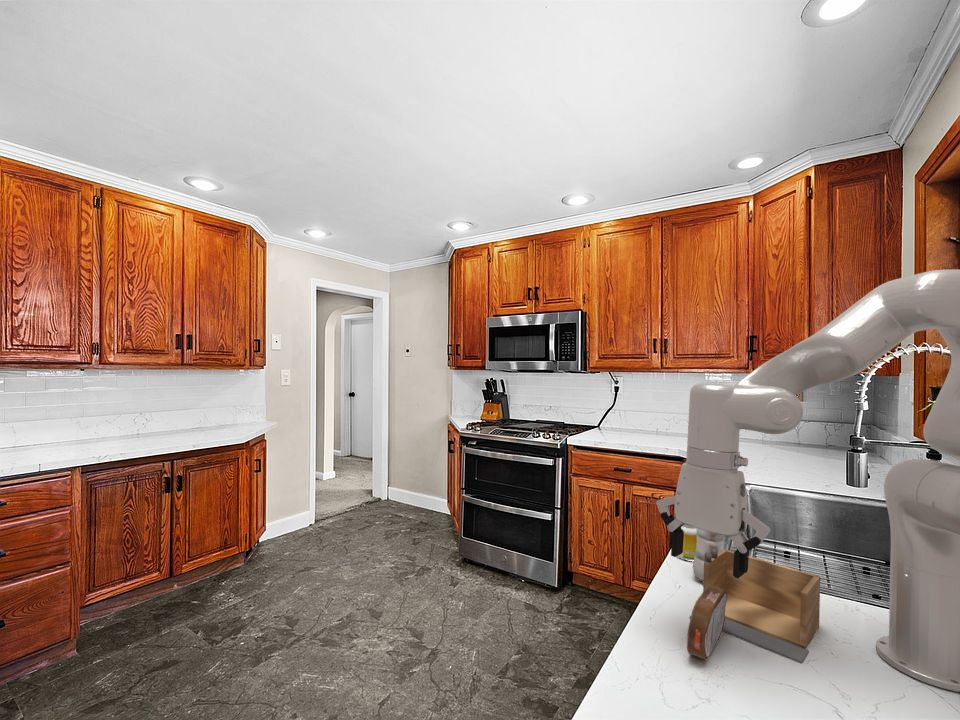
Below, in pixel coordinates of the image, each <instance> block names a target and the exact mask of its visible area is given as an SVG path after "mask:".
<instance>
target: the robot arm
mask: <svg viewBox="0 0 960 720" xmlns="http://www.w3.org/2000/svg"><path fill="white" fill-rule="evenodd" d="M933 330H936V331H938V333H939V334H940V336H941V338H942V339H943V340H944V343H946V346H947V348H948V350H949V352H950V353H949V354H950V357H951V359H950V361H951V362H950V363H951V364H950V367H949V371H948V373H947V376H946V378H945V381H944V383H943V385H942V386H941V389H940V390H939V393H938V394H937V397H936V399H935V401H934V403H933V405H932V407H931V409H930V411H929V413H928V415H927V418H926V420H925V422H924V425H923V430H922V432H923V438H924V440H925V442H926V444H927V445H928V446H929V447H930V448H931V449H933V450H935V451H937V453H940V454H943V455H946V456H949V457H951V458H952V457H953V458H956V459H959V460H960V269H937V270H936V269H935V270H929V271H924V272H920V273H916V274H913V275H908V276H905V277H899V278H896V279H892V280H888V281H886V282H884V283H881V284H879V286H877V287H875V288H874V289H872V290H871V291H869V292H868V293H867V294H865V295H864V296H862V298H860V299H859V300H857V301H856V302H855V303H853V304H852V305H850V306H849V307H848V308H847V309H846V310H844V311H843V312H842V313H841V314H839V315H838V316H837V317H835V318H834V319H833V320H832V321H830V322H828V323H827V324H826V325H825V326H823V327H822V328H821V329H820V330H818V331H816V332H815V333H814V334H812V335H810V336H809V337H807V338H806V339H803V340H801V341H800V342H798V343H796V344H795V345H793V346H792V347H790V348H788V349H786V350H784V351H782V352H781V353H779V354H777V355H775V356H774V357H772V358H771V359H769V360H767V361H766V362H764V363H763V364H761V365H759V366H758V367H756V368H755V369H754V370H752V371H751V372H750V373H749V374H747V375H746V376H744V377H743V378H742V379H741V380H739V381H738V382H737V383H736V384H734V385H732V384H718V383H697V384H694V385H693V386H692V387H691V388H690V391H689V392H690V393H689V401H688V403H689V405H688V422H687V423H688V424H687V425H688V426H687V440H686V441H687V442H686V443H687V444H686V447H687V448H686V460H685V461H686V462H683V463H682V465H681V468H680V472H679V474H678V480H677V484H676V491H675V495H672V496H668V497H666V498H665V497H664V498H661V499H658V500H657V501H656V503H655V504H656V506H657V509H658V512H659V513H660V518H661V520H662V521H663V522H664V524H665V525H666V527H667V528H666V529H667V531H668V532H669V545H668V546H669V549H671V550H670V555H671V556H670V557H673V558H675V557H677V556H678V555H680V554H682V553H683V540H684V531H683V530H682V529H681V527H682V526H683V525H684V524H685V525H688V526H692V527H695V528H698V529H702V530H705V531H709V532H713V533H716V534H720V535H724V536H725V537H729V538H730V540H731V542H732V543H733V544H734V545H735V547H736V549H735V551H733V552H734V563H733V576H734V577H735V578H740V577H741V576H742V575H743V574H744V573H747V571H748V560H749V556H750V551H751V550H752V549H755V548H756V547H758V546H760V545H761V544H762V543H763V542H764V540H766V538H767V536H768V535H769V533H771V527H769V526H768V525H767V524H765V523H764V522H763V521H761V520H760V519H759V518H757V517H756V516H754V515H753V514H752V513H751V512H749V511H748V499H747V498H748V497H747V486H746V480H745V479H746V478H745V473H744V472H743V470H739V469H740V467H748V464H749V459H748V458H747V457H743V456H742V455H741V454H740V453H741V452H740V450H739V449H740V430H747V431H753V432H757V433H762V434H768V435H781V434H786V433H788V432H790V431H792V430H794V429H795V428H797V427H798V426H799V425H800V423H801V421H802V420H803V416H804V408H803V404H802V402H801V401H800V399H799V398H798V397H797V395H798V394H801V393H802V392H805V391H807V390H809V389H812V388H815V387H817V386H822V385H825V384H830V383H834V382H837V381H842V380H844V379H848V378H851V377H853V376H855V375H858V374H860V373H862V372H863V371H864V370H866V369H867V368H869V367H870V366H871V365H872V364H874V363H875V362H876V361H878V360H879V359H880V358H882V357H883V356H884V355H886V354H887V353H889V351H891V350H892V349H894V348H895V347H896V346H898V345H899V344H901V343H902V342H903V341H905V340H906V339H907V338H909V337H910V336H912V335H913V334H915V333H917V332H921V331H933ZM883 493H884V500H885V504H886V508H887V513H888V519H889V526H890V529H889V530H890V563H889V564H890V565H889V566H890V567H889V568H890V569H889V612H888V613H889V616H888V618H889V619H888V622H889V623H888V624H889V625H888V635H885V636H882V637H878V639H876V643H875V648H876V652H877V654H878V655H879V656H880V657H881V658H882V659H883V660H884V661H885V662H886V663H887V664H888V665H891V666H892V667H893V668H895V669H896V670H898V671H900V672H902V673H904V674H906V675H907V676H910V677H912V678H913V679H916V680H919V681H920V682H922V683H926V684H929V685H931V686H934V687H937V688H940V689H944V690H948V691H952V692H958V693H960V465H955V464H951V463H946V462H944V461H943V462H942V461H938V460H933V459H923V458H920V459H919V458H916V459H915V458H913V459H906V460H903V461H901V462H898V463H896V464H895V465H894V466H892V467H891V468H890V470H889V471H888V472H887V473H886V475H885V479H884V483H883ZM671 505H674V509H673V513H674V516H673V514H672V512H670V510H669V506H671ZM748 525H749V526H750V527H751V528H752V529H753V530H755V533H754V535H753V536H752V537H751V538H750V539H749V538H748V537H747V535H746V533H745V531H746V530H747V528H748Z"/></svg>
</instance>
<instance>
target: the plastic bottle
mask: <svg viewBox="0 0 960 720" xmlns="http://www.w3.org/2000/svg"><path fill="white" fill-rule="evenodd" d="M725 537H726V536H724V535H720V534H716V533H713V532H709V531H705V530H702V529H698V528H697V543H696V552H695V557H694V561H693V562H692V572H693V575H694V576H695V577H696V578H697V580H699V581H701V582H703V583H704V562H705V561H704V556H705V553H710V554H711V549H716V550H718V552H719V551H721V550H722V549H725Z"/></svg>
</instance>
